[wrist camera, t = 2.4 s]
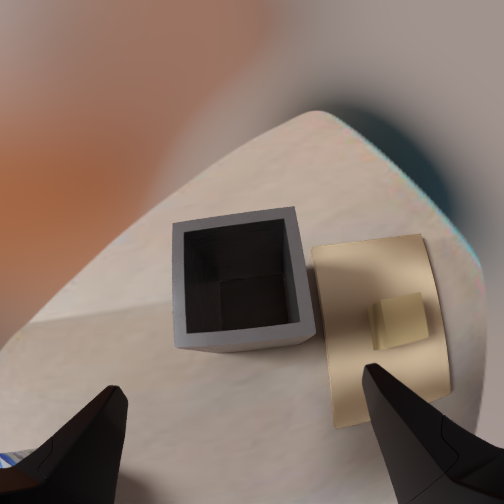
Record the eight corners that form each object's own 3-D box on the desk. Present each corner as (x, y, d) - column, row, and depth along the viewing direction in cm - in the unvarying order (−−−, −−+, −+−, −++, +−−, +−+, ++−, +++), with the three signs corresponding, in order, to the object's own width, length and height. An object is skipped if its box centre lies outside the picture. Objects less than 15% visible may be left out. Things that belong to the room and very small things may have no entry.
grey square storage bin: (299, 344, 20) (316, 333, 11) (216, 353, 20) (174, 347, 12) (288, 265, 22) (294, 206, 14) (211, 275, 22) (172, 223, 14)
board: (441, 392, 17) (471, 395, 13) (332, 424, 18) (345, 439, 13) (413, 240, 22) (435, 217, 18) (310, 254, 23) (316, 230, 19)
